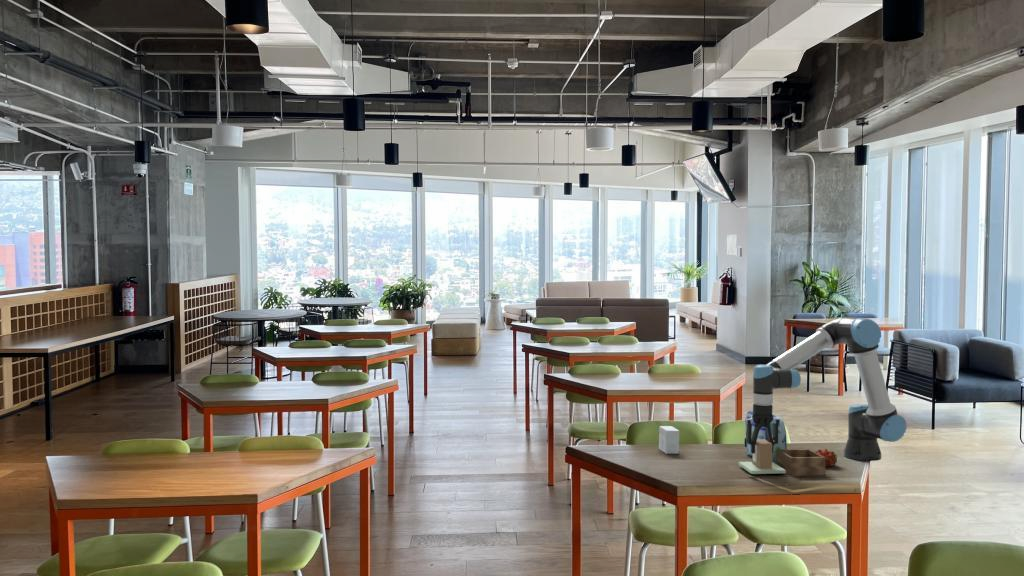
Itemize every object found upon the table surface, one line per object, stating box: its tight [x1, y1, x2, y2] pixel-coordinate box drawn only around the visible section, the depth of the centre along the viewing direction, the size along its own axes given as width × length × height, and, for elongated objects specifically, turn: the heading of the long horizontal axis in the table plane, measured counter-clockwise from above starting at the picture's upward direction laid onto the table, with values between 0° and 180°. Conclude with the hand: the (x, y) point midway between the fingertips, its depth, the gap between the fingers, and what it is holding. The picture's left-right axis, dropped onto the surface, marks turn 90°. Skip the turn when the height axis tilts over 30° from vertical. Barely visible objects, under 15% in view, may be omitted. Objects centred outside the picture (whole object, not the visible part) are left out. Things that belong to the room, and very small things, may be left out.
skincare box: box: [658, 425, 680, 455], centre depth 357 cm, size 10×6×10 cm, turn 7°
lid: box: [738, 439, 787, 475], centre depth 320 cm, size 14×14×11 cm
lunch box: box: [744, 410, 788, 464], centre depth 342 cm, size 26×11×21 cm, turn 3°
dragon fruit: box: [815, 448, 838, 469], centre depth 329 cm, size 8×8×12 cm
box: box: [776, 448, 826, 477], centre depth 321 cm, size 14×14×8 cm
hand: (761, 461), depth 320 cm, fingers closed on lid, 5 cm apart
